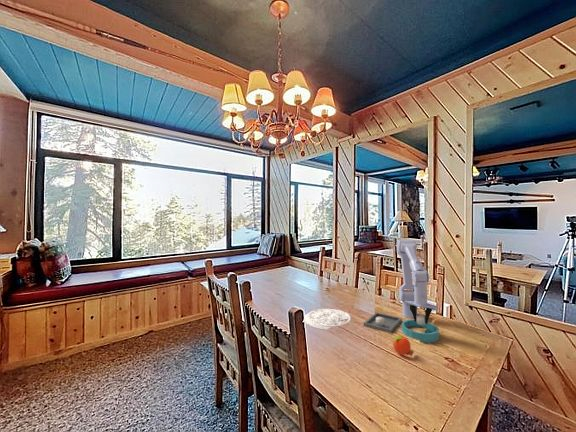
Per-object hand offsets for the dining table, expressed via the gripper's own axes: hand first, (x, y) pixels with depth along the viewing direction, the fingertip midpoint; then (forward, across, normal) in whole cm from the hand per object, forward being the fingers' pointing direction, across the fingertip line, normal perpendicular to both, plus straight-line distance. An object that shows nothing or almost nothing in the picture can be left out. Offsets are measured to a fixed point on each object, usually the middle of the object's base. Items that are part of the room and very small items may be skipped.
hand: (421, 321), depth 129 cm
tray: (+5, -18, -3) cm, 19 cm away
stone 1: (+4, -18, -7) cm, 20 cm away
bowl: (+5, 0, -3) cm, 6 cm away
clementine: (+6, -2, -26) cm, 27 cm away
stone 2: (+1, 0, 0) cm, 1 cm away
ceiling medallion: (+6, -46, -13) cm, 48 cm away
